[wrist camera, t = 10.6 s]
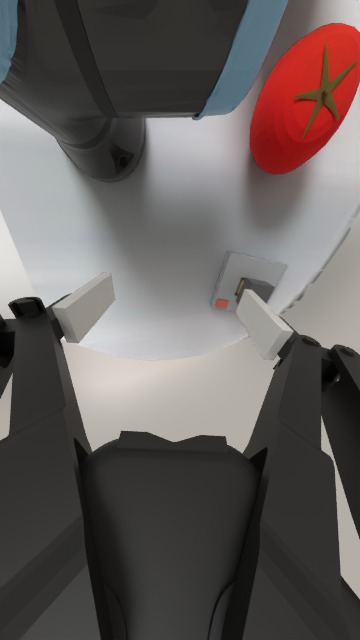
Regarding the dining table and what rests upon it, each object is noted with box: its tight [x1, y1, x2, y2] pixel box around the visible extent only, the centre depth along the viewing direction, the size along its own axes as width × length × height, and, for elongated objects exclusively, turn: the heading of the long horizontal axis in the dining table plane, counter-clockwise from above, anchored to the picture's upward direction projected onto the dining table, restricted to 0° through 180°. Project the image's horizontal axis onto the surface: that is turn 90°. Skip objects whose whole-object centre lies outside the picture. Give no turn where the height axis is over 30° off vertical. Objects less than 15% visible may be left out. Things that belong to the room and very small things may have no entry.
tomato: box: [250, 23, 360, 174], centre depth 21 cm, size 12×12×10 cm
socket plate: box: [210, 251, 288, 312], centre depth 38 cm, size 14×14×4 cm
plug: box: [236, 278, 275, 305], centre depth 36 cm, size 6×5×9 cm
